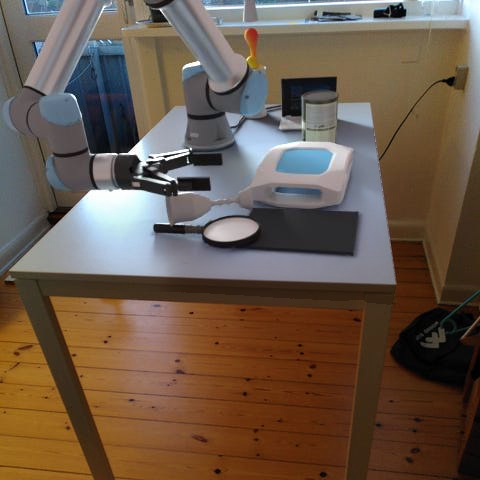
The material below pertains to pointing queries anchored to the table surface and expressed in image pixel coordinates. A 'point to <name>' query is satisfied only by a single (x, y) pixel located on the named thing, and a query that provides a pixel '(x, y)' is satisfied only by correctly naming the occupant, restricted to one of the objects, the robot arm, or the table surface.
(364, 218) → the table surface
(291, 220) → the mat
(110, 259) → the table surface
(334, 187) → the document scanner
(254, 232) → the magnifying glass
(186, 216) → the chalice
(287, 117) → the laptop
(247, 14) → the lava lamp
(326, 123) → the coffee can
